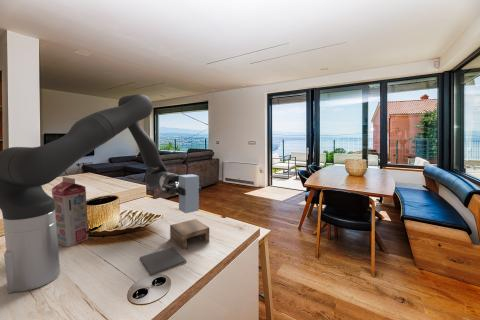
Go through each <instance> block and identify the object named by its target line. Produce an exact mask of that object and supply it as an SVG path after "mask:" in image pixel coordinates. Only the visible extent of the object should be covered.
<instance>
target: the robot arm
mask: <svg viewBox="0 0 480 320" xmlns="http://www.w3.org/2000/svg"><path fill="white" fill-rule="evenodd" d="M153 108H154V107H153V102H152V100H151V99H150V98H149V97H148V96H147V95H145V94H141V93H140V94H139V93H138V94H137V93H136V94H130V95H124V96H122V97H120V98H119V100H118V103H117V106H115V107H109V108H105V109H103V110H99V111H96V112H94V113H90V114H88V115H86V116H84V117H83V118H81V119H79V120H77V121H76V122H75V123H74V124H73V125H71V127H70V129H69V130H68V131H67V133H66V134H64V135H63V136H61V137H60V138H57V139H55V140H52V141H50V142H48V143H45V144H43V145H40V146H33V147H31V146H29V147H27V146H13V147H7V148H5V149H2V150H0V211H1V214H2V221H3V222H2V223H3V233H4V240H5V241H4V243H5V252H4V255H3V256H4V266H5V267H4V269H5V275H6V276H5V278H6V285H7V294H11V293H14V292H15V293H16V292H26V291H30V290H31V291H32V290H34V289H37V288H38V289H39V288H41V287H43V286H45V285H47V284H49V283H51V282H53V281H54V280H55V279H56V278H58V276H59V275H60V274H61V268H60V266H61V264H60V255H59V253H60V252H59V244H58V239H57V226H56V213H55V202H54V199H53V198H52V196H50V195H49V194H48V193H47V192H45V190H44V188H43V186H45V185H48V184H50V183H52V182H53V181H54V180H55V179H57V178H58V177H59V176H61V175H62V174H63V173H64V172H65V171H67V170H68V169H70V168H71V166H73V165H74V164H75V163H76V162H78V161H79V160H81V159H82V158H83V157H85V156H86V155H87V156H88V154H89V153H91V152H94V150H96V149H97V148H99V147H100V146H102V145H104V144H107V142H109V141H110V140H112V139H113V138H114V137H116V136H117V135H118V134H120V133H122V132H123V131H125V130H126V129H128V130H129V132H130V133H131V136H132V137H133V139H134V141H135V143H136V146H137V147H138V150H139V152H140V155H141V158H142V161H143V164H144V166H145V167H147V168H154V167H157V168H156V169H154V170H151V171H149V172H147V173H146V174H145V177H144V179H145V180H144V181H145V183H146V184H147V186H148V187H150V188H152V189H161V193H164V194H167V195H173V196H174V195H175V196H177V195H178V196H179V194H180V195H182V196H185V195H186V190H185V189H184V188H181V187H180V186H179V175H180V174H176V173H173V172H170V171H169V170H168V168H167V167H166V166H165V164H164V162H163V160H162V158H161V156H160V152H159V149H158V146H157V143H155V141H154V140H153V139H152V138H151V137H150V135H148V133H147V132H146V131H145V130H144V128H143V126H142V125H141V123H140V121H142V120H144V119H147V118H148V117H150V116H151V114H152V112H153ZM201 193H202V187H201V182H199V194H201Z"/></svg>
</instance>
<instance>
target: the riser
mask: <svg viewBox="0 0 480 320" xmlns="http://www.w3.org/2000/svg"><path fill="white" fill-rule="evenodd" d="M169 233H170V234H169V235H170V237H169V238H170V241H172V242H173V243H174V244H175V245H176V246H178V248H179V249H180V250H181V251H185V250H187V249H188V248H187V247H188V243H187V242H188V239H189V238H192V237H193V238H194V237H198V238H199V239H200V240H201V241H203V242H204V243H208V242H210V227H209V226H208V225H206V224H205V223H203V222H202V221H200V220H199V219H197V218H194V219H190V220H186V221H182V222H178V223H174V224H170V225H169Z"/></svg>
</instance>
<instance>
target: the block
mask: <svg viewBox="0 0 480 320" xmlns="http://www.w3.org/2000/svg"><path fill="white" fill-rule="evenodd" d="M178 175H179V186H180V187H181V188H184V189H185V190H186V195H185V196H182V195H180V194H178V210H179V211H181V212H183V213H184V214H188V213H195V212H198V211H199V210H200V209H199V208H200V193H199V183H200V175H197V174H193V173H192V174H178Z"/></svg>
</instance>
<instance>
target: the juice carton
mask: <svg viewBox="0 0 480 320" xmlns="http://www.w3.org/2000/svg"><path fill="white" fill-rule="evenodd" d="M86 191H87V190H86V186H84V185H82V184H78V183H76V179H75V178H72V177H65V176H62V182H60V183H58V184H56V185H55V186H53V187H52V188H51V195H52V196H51V197H52V198H53V199H54V202H55V213H56V226H57V239H58V245H60V246H63V247H66V248H69V247H71V246H74V245H76V244H79V243H82V242H84V241H86V240H89V233H88V234H86V233H85V231H88V232H89V230H88V221H87V213H88V209H87V207H88V206H87V192H86Z"/></svg>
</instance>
